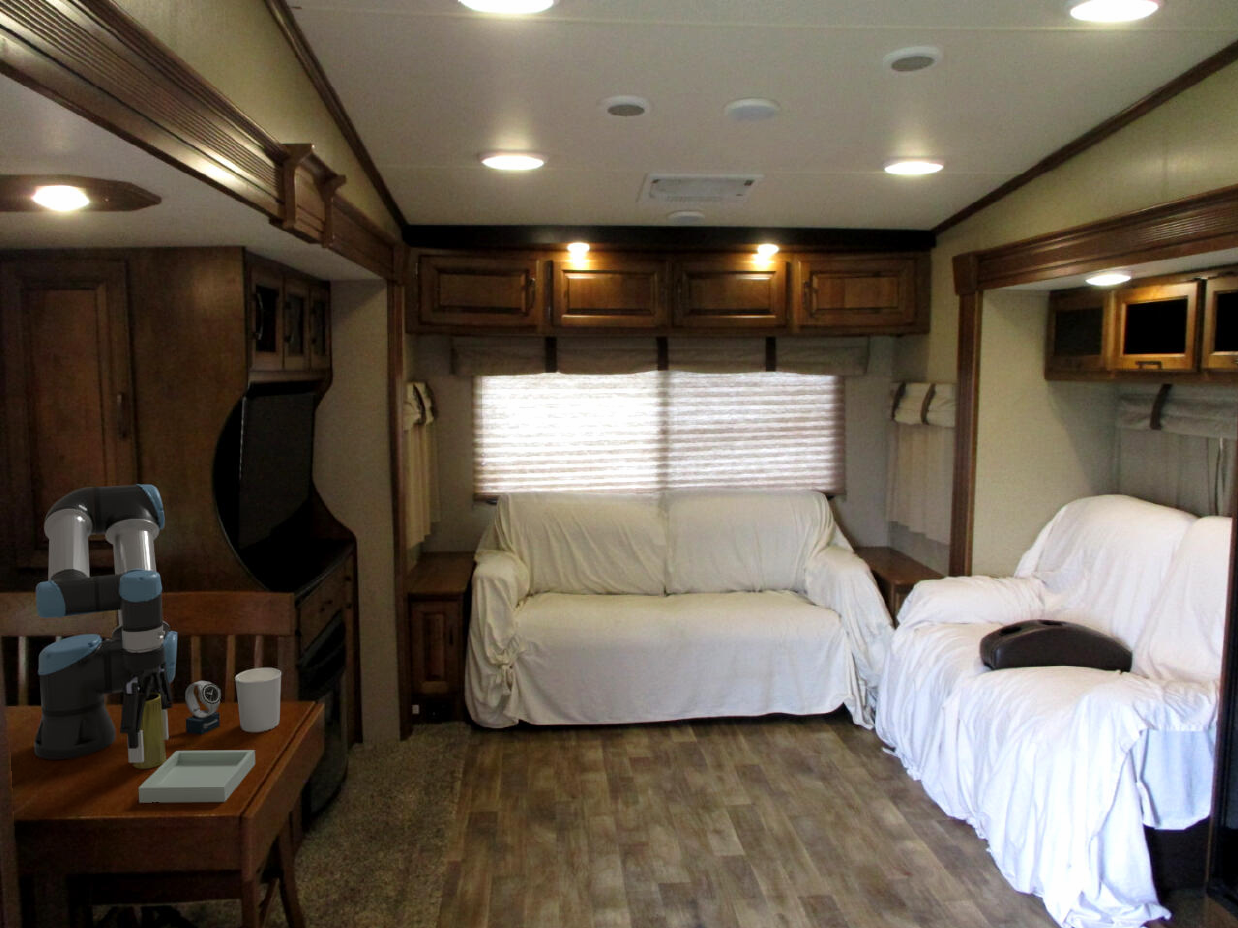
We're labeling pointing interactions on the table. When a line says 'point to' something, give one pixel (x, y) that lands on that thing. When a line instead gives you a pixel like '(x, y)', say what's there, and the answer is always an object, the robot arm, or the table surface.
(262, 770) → the table surface
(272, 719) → the candle holder
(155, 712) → the vase
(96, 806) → the table surface
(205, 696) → the watch
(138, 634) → the robot arm
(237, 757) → the tray
